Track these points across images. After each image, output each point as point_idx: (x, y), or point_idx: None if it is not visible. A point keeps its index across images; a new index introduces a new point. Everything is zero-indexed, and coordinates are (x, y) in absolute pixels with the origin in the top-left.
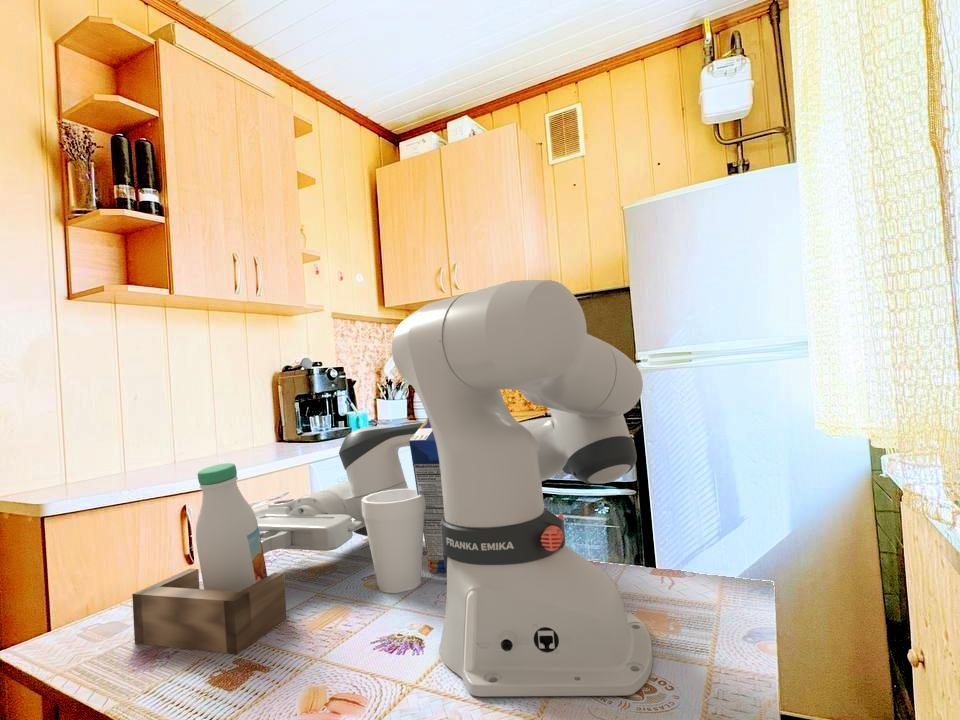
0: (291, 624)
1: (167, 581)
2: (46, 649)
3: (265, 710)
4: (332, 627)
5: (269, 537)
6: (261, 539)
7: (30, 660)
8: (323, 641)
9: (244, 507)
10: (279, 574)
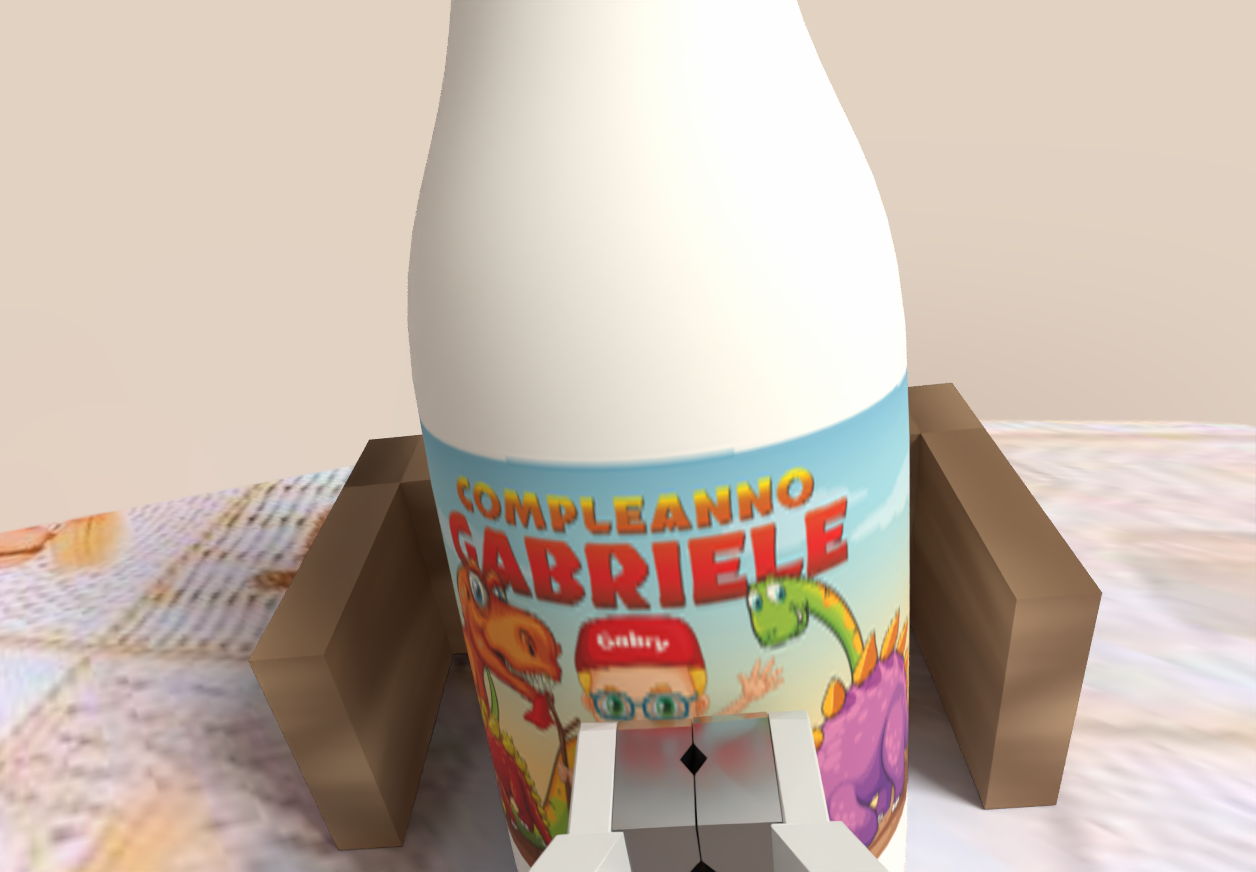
0: (290, 816)
1: (962, 467)
2: (1244, 470)
3: (203, 495)
4: (50, 837)
5: (591, 845)
6: (653, 776)
7: (1172, 437)
8: (87, 733)
9: (424, 172)
10: (270, 638)
